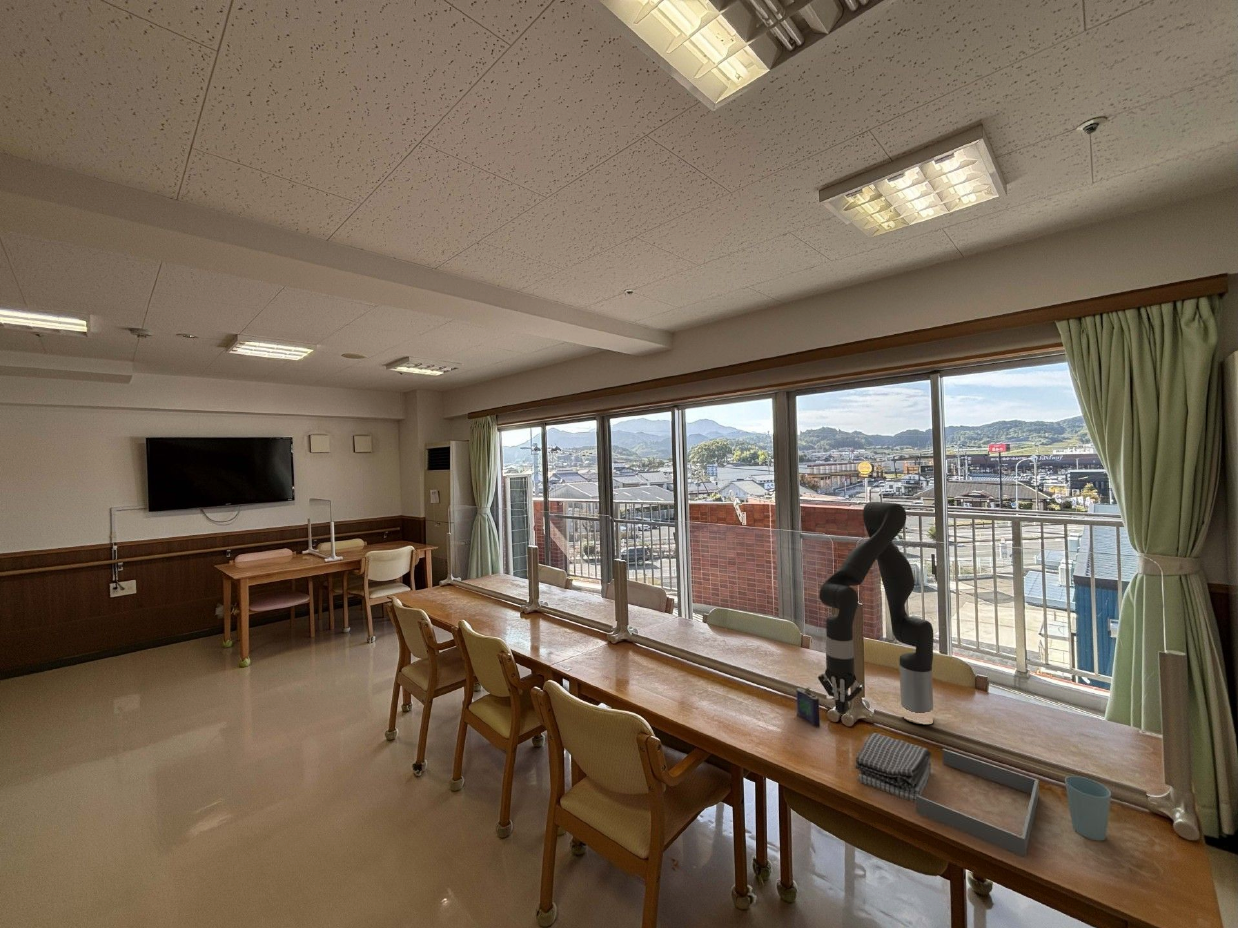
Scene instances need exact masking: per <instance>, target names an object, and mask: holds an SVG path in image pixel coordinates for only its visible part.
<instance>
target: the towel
mask: <svg viewBox="0 0 1238 928" xmlns="http://www.w3.org/2000/svg"><path fill="white" fill-rule="evenodd" d="M931 758H932V754H931V751H930V750H929V749H928V748H926V747H924V746H921V745H917V744H912V743H910V742H907V741H906V740H905V741H904V740H902V739H896V738H894V737H890V736H887V735H884V734H880V733H878V732H873V733H870V735H869V736H868V738H867V739H866V741H865V742H864V745H863V747H862V748H861V750H860V751H859V752H858V754H857V755H856V757H855V763H856V764H855V768H854V769H856V770H858V771H859V772H860V773H859V774H858V781H859V782H860V783H862V784H865V785H868V786H870V787H873V788H876V789H879V790H881V791H883V792H886V793H889V794H892V795H895V796H896V797H900V798H901V799H905V800H908V801H910V802H912V803H914V804H916V795H918V796H921V797H922V795H923V793H924V790H925V789H926V786H927V783H928V779H929V778H930V774H931V771H932V770H931V767H932V764H931V761H930V760H931Z"/></svg>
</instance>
